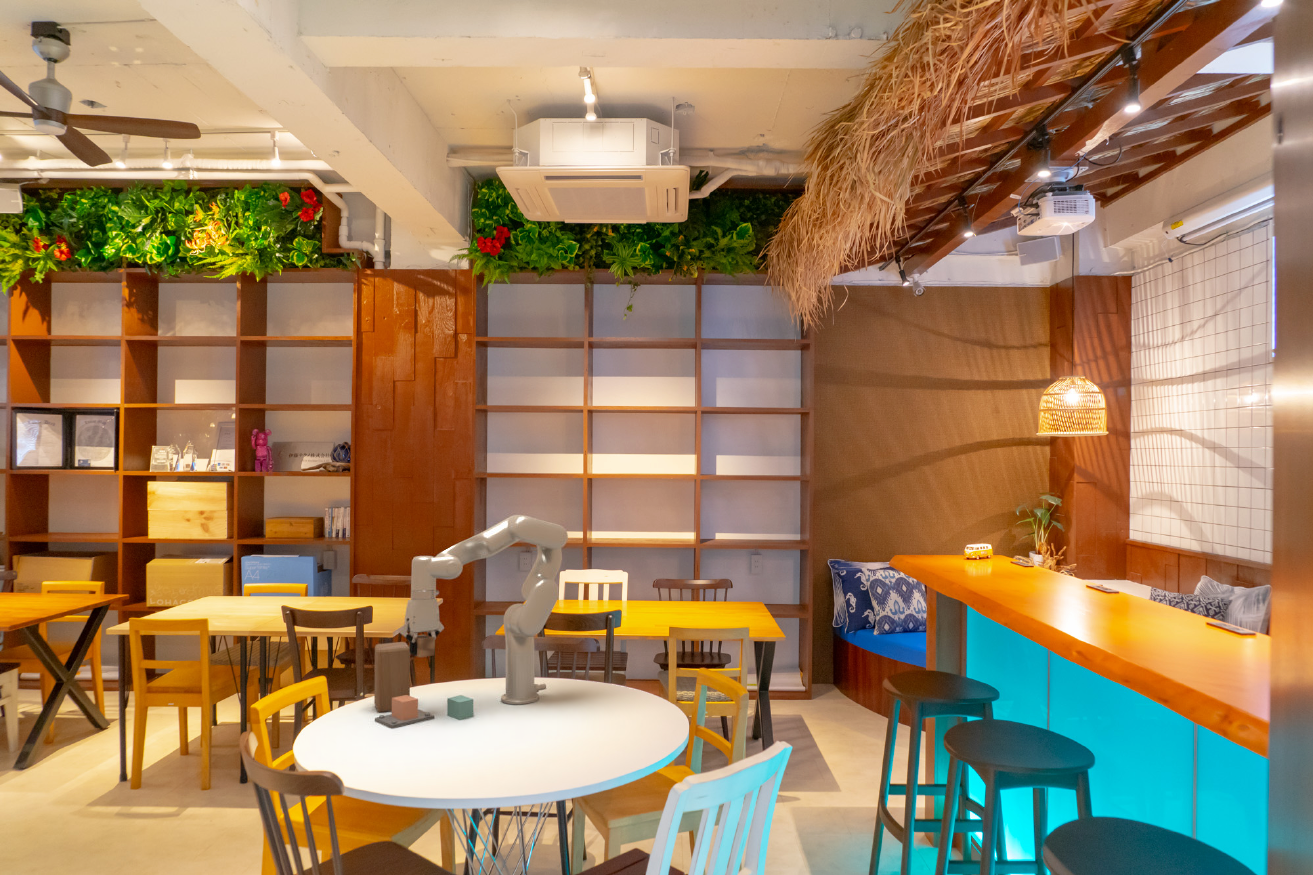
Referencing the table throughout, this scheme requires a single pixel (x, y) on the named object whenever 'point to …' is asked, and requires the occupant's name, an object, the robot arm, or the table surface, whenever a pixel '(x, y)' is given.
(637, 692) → the table surface
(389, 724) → the baseplate
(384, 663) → the block
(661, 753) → the table surface
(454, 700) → the teal brick
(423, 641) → the walnut brick
